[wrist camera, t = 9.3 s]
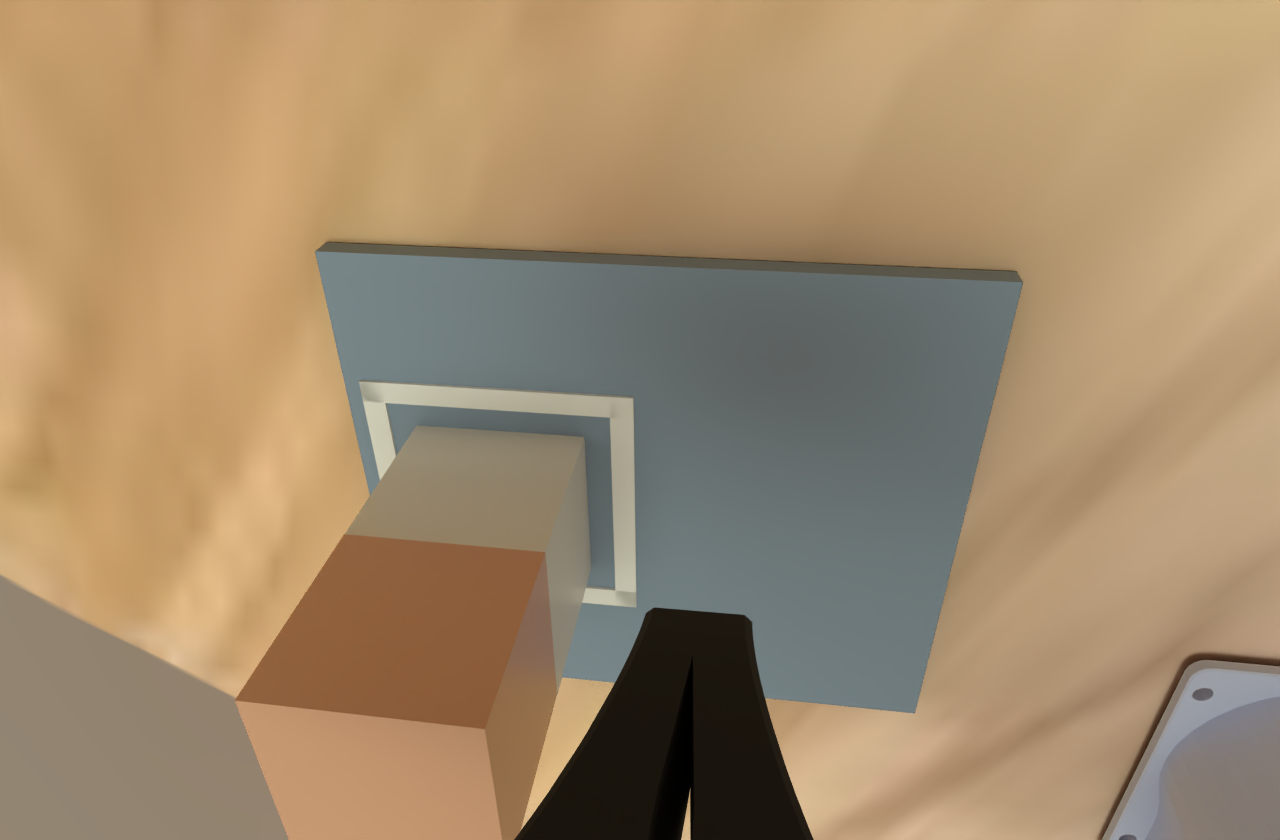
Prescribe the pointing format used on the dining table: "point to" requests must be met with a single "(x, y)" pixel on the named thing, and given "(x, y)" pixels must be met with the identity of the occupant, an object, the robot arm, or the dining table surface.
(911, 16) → the dining table surface
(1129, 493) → the dining table surface
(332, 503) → the dining table surface
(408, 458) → the base block
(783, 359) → the board
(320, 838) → the top block
